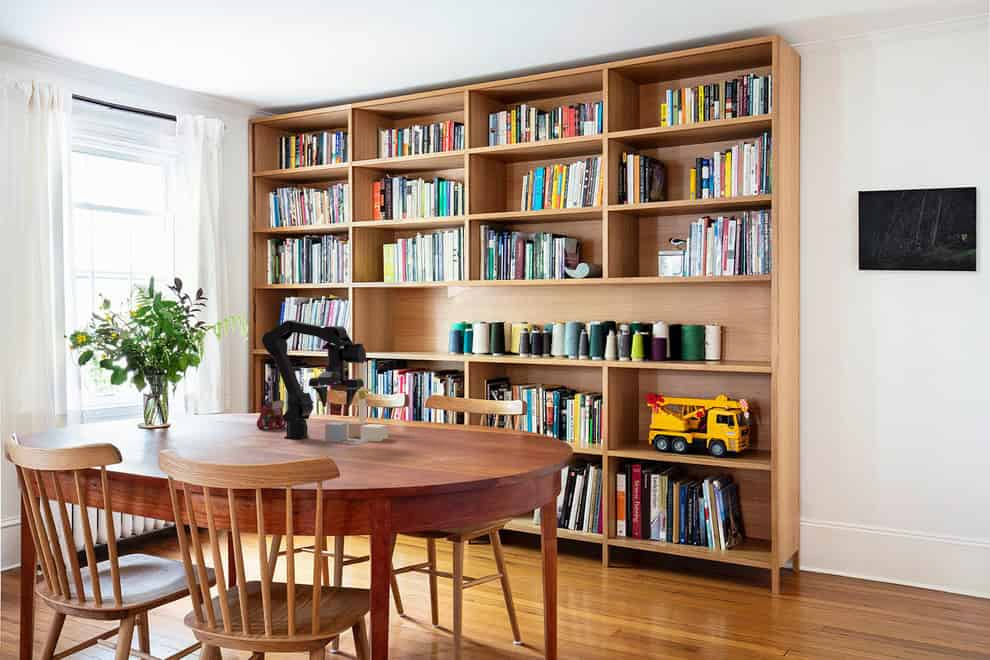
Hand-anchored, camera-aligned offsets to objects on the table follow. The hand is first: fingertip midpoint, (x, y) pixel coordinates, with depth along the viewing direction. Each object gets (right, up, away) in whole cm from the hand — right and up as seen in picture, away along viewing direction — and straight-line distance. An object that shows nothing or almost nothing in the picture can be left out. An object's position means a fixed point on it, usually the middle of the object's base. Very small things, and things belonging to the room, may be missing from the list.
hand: (336, 407), depth 304 cm
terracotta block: (+6, -11, +10) cm, 16 cm away
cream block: (+13, -12, +3) cm, 18 cm away
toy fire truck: (-30, -11, +29) cm, 43 cm away
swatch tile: (+7, -12, -3) cm, 14 cm away
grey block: (0, -12, 0) cm, 12 cm away
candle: (+5, -11, +24) cm, 27 cm away
